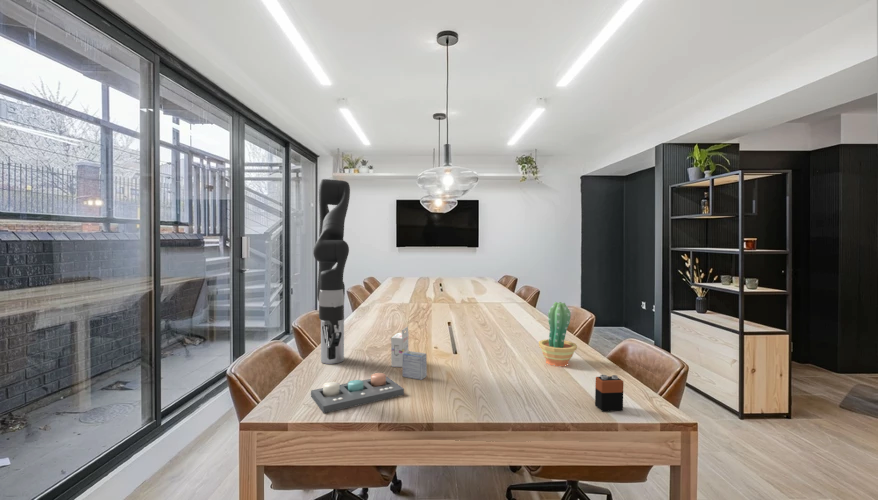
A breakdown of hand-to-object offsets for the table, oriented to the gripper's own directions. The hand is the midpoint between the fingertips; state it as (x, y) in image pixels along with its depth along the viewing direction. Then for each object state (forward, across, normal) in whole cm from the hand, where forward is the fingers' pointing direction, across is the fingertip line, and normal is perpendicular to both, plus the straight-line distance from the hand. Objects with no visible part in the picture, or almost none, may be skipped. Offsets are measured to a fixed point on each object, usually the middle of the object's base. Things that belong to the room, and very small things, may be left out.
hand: (331, 358), depth 123 cm
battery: (+13, +50, +69) cm, 86 cm away
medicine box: (+13, -4, +32) cm, 35 cm away
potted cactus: (+13, +12, +90) cm, 92 cm away
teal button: (+12, 0, +8) cm, 15 cm away
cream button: (+11, 0, 0) cm, 11 cm away
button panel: (+13, +2, +8) cm, 15 cm away
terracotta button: (+11, 0, +16) cm, 20 cm away
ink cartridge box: (+13, -20, +34) cm, 42 cm away
